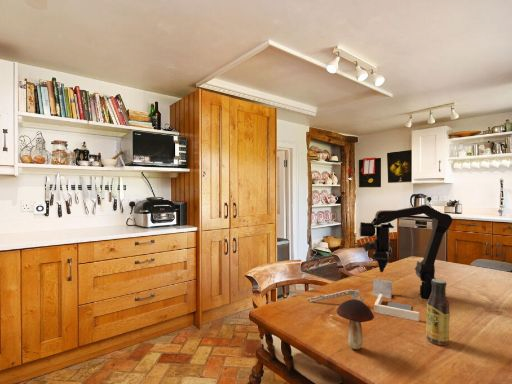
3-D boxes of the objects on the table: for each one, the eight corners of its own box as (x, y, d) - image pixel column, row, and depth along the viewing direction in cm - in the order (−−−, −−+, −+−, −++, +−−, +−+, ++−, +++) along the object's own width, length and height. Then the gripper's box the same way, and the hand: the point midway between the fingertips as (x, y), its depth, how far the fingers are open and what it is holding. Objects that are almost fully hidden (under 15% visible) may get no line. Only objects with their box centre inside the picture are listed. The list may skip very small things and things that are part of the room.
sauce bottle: (421, 336, 94) (421, 277, 94) (439, 336, 94) (439, 276, 95) (435, 347, 87) (435, 283, 87) (454, 346, 88) (454, 283, 88)
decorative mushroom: (381, 350, 86) (381, 301, 86) (359, 363, 79) (359, 309, 79) (350, 335, 95) (350, 291, 95) (328, 346, 88) (328, 298, 88)
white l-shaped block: (419, 307, 118) (419, 300, 118) (418, 321, 105) (418, 313, 105) (379, 300, 126) (379, 293, 126) (374, 312, 113) (374, 304, 113)
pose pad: (411, 306, 119) (411, 305, 119) (410, 316, 109) (410, 315, 109) (388, 302, 124) (388, 301, 124) (384, 311, 114) (384, 310, 114)
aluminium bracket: (392, 294, 133) (392, 281, 133) (390, 298, 128) (390, 284, 128) (374, 291, 137) (374, 278, 137) (372, 295, 132) (372, 281, 132)
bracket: (364, 302, 118) (352, 280, 119) (317, 321, 122) (307, 299, 123) (362, 299, 121) (351, 278, 122) (317, 318, 125) (307, 297, 126)
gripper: (368, 233, 147) (368, 263, 146) (361, 238, 131) (361, 272, 130) (391, 235, 141) (392, 266, 141) (387, 240, 125) (387, 275, 125)
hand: (382, 269), depth 134 cm, fingers open, 9 cm apart
